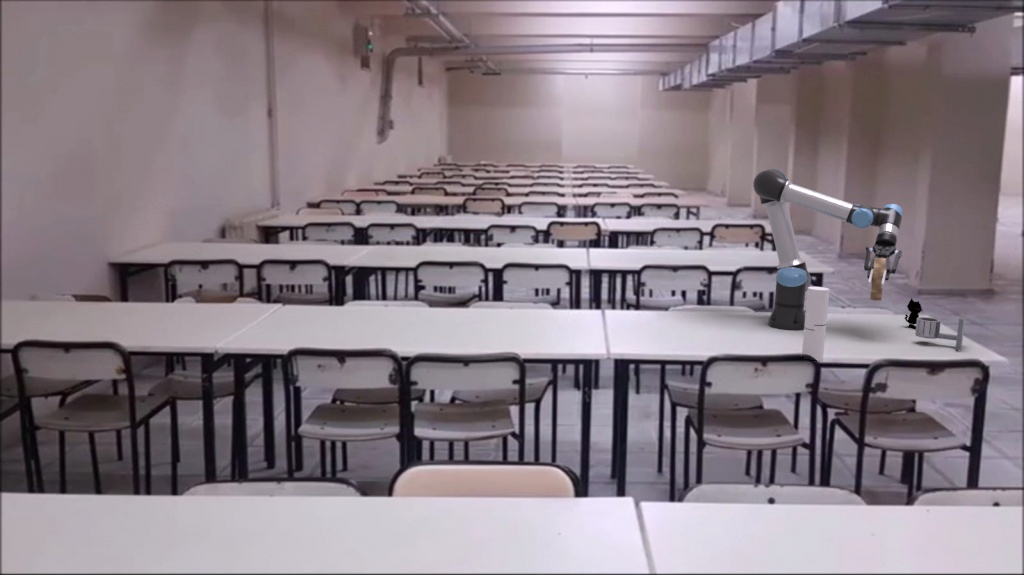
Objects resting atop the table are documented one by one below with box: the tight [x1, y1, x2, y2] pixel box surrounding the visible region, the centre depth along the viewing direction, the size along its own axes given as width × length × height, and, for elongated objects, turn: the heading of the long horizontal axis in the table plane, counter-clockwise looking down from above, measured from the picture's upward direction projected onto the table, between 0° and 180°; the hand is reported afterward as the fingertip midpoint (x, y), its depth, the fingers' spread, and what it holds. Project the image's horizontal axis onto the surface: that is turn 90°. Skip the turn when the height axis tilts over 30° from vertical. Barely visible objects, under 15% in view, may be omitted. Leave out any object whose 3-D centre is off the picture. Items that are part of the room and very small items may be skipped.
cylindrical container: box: [801, 286, 830, 362], centre depth 315 cm, size 7×7×25 cm
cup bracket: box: [915, 313, 967, 351], centre depth 343 cm, size 16×12×12 cm
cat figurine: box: [904, 297, 924, 330], centre depth 374 cm, size 7×7×12 cm
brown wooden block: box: [869, 258, 886, 302], centre depth 348 cm, size 4×4×16 cm
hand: (876, 285), depth 345 cm, fingers closed on brown wooden block, 4 cm apart
